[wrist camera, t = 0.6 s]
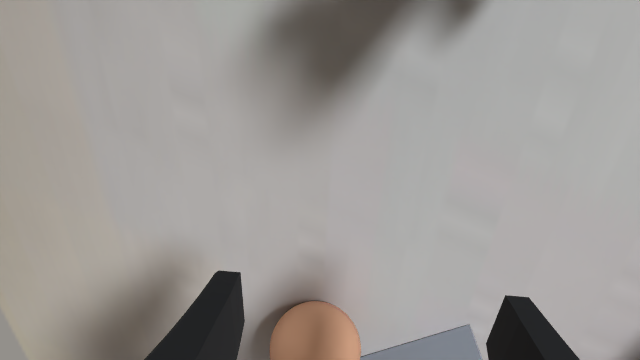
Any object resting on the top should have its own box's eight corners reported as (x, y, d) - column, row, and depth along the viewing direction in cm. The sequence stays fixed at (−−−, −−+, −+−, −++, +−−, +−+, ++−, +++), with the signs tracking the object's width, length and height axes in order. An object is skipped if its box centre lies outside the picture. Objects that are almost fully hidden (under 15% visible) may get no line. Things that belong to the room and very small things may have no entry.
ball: (298, 351, 28) (292, 428, 23) (259, 298, 26) (245, 372, 21) (371, 328, 26) (379, 405, 22) (336, 271, 24) (338, 344, 20)
